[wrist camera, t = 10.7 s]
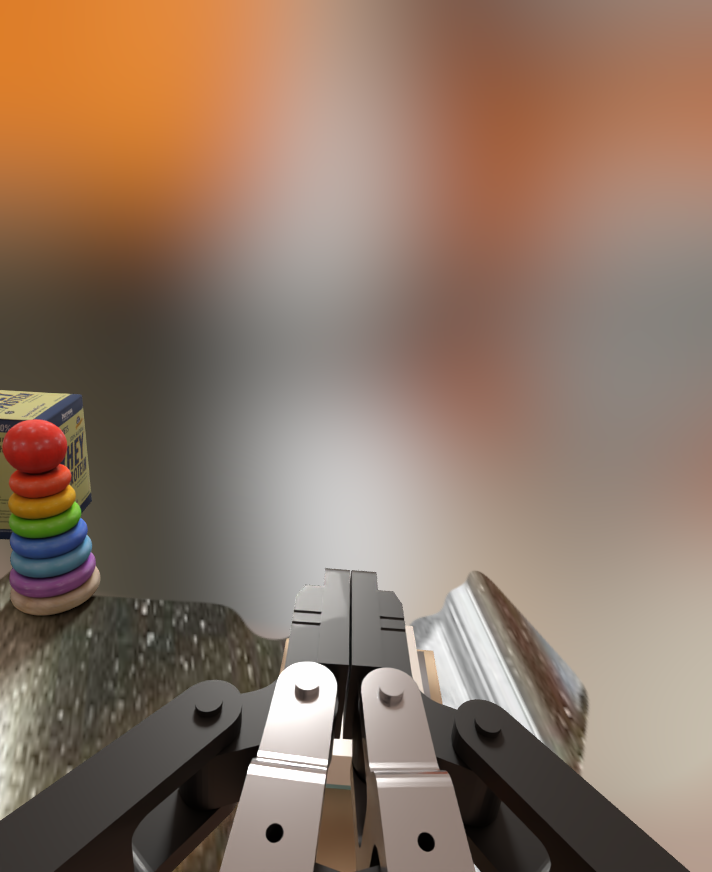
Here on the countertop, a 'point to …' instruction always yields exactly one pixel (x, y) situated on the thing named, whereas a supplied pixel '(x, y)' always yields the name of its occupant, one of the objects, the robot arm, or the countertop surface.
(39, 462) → the stacking toy
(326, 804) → the board
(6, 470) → the protein box
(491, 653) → the countertop surface
